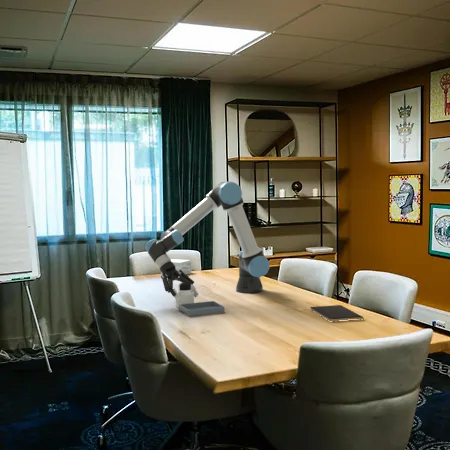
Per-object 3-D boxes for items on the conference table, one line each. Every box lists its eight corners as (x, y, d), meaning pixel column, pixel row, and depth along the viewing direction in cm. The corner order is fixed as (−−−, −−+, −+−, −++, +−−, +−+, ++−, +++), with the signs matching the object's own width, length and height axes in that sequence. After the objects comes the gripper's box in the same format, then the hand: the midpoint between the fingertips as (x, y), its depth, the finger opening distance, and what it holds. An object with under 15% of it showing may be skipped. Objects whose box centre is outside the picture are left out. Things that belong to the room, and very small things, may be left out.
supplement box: (191, 273, 363) (191, 259, 362) (181, 276, 351) (181, 262, 351) (171, 271, 371) (171, 258, 370) (160, 274, 359) (160, 261, 359)
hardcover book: (329, 323, 226) (329, 318, 226) (310, 311, 248) (310, 306, 248) (363, 321, 229) (363, 316, 229) (341, 309, 252) (341, 304, 251)
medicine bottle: (194, 305, 262) (194, 281, 261) (188, 308, 256) (188, 284, 255) (181, 304, 265) (181, 281, 264) (175, 307, 258) (175, 283, 257)
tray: (213, 306, 260) (213, 300, 259) (224, 312, 247) (224, 306, 246) (179, 310, 253) (179, 304, 252) (188, 316, 240) (188, 310, 240)
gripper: (178, 267, 278) (200, 298, 270) (144, 273, 258) (167, 307, 250) (185, 257, 274) (208, 289, 266) (152, 263, 255) (175, 297, 247)
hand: (188, 298), depth 258 cm, fingers open, 12 cm apart
